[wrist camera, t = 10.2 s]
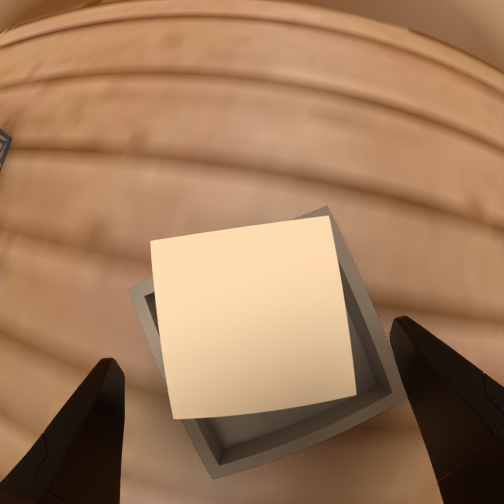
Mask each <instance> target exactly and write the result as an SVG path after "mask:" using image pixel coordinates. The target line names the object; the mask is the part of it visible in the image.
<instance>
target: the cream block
mask: <svg viewBox="0 0 504 504" xmlns="http://www.w3.org/2000/svg"><path fill="white" fill-rule="evenodd" d="M150 242H151V256H152V269H153V280H154V291H155V300H156V310H157V318H158V326H159V334H160V342H161V349H162V356H163V362H164V369H165V375H166V381H167V387H168V393H169V398H170V404H171V409H172V415H173V419H192V418H208V417H221V416H232V415H242V414H251V413H259V412H267V411H274V410H281V409H287V408H293V407H299V406H305V405H311V404H316V403H321V402H326V401H331V400H336V399H340V398H345V397H349V396H353V395H356V385H355V375H354V367H353V358H352V350H351V342H350V335H349V328H348V321H347V314H346V307H345V301H344V295H343V288H342V282H341V277H340V271H339V265H338V260H337V254H336V249H335V244H334V238H333V233H332V228H331V223H330V219H329V216H321V217H313V218H305V219H298V220H290V221H283V222H276V223H268V224H261V225H254V226H247V227H240V228H233V229H226V230H219V231H212V232H206V233H199V234H192V235H186V236H179V237H173V238H167V239H160V240H154V241H150Z"/></svg>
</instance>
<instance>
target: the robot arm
mask: <svg viewBox="0 0 504 504" xmlns="http://www.w3.org/2000/svg"><path fill="white" fill-rule="evenodd" d="M390 343H391V346H392V350H393V353H394V356H395V360H396V363H397V367H398V371H399V374H400V378H401V381H402V384H403V386H404V389H405V391H406V394H407V397H408V399H409V402H410V404H411V407H412V410H413V412H414V415H415V418H416V420H417V423H418V426H419V429H420V431H421V434H422V437H423V440H424V443H425V446H426V449H427V451H428V454H429V457H430V460H431V463H432V467H433V470H434V473H435V476H436V479H437V481H438V482H437V483H438V486H439V489H440V493H441V496H442V500H443V503H444V504H504V387H503V386H502V385H500V384H499V383H498V382H496V381H495V380H493V379H492V378H491V377H489V376H488V375H487V374H485V373H484V374H483V371H481V370H480V369H479V368H477V367H476V366H475V365H473V364H472V363H471V362H469V361H468V360H467V359H465V358H464V357H463V356H461V355H460V354H459V353H457V352H456V351H455V350H453V349H452V348H451V347H449V346H448V345H447V344H445V343H444V342H443V341H441V340H440V339H438V338H437V337H436V336H434V335H433V334H432V333H430V332H429V331H427V330H426V329H425V328H423V327H422V326H420V325H419V324H418V323H416V322H415V321H414V320H412V319H411V318H409V317H408V316H400V317H396V318H395V319H394V320H393V324H392V328H391V331H390ZM124 421H125V377H124V373H123V371H122V370H121V368H120V367H119V365H118V364H117V362H116V360H115V359H114V358H102V359H101V360H100V361H99V362H98V363H97V364H96V366H95V367H94V368H93V369H92V371H91V372H90V373H89V374H88V376H87V377H86V378H85V379H84V381H83V382H82V383H81V384H80V386H79V387H78V388H77V389H76V391H75V392H74V393H73V394H72V396H71V397H70V398H69V400H68V401H67V402H66V403H65V405H64V406H63V407H62V408H61V410H60V411H59V412H58V414H57V415H56V416H55V418H54V419H53V420H52V421H51V423H50V424H49V425H48V427H47V428H46V429H45V431H44V433H42V435H41V436H40V437H39V439H38V440H37V441H36V442H35V444H34V445H33V446H32V448H31V449H30V450H29V451H28V452H27V454H26V455H25V456H24V457H23V458H22V459H21V460H20V462H19V463H18V464H17V465H16V466H15V467H14V468H13V469H12V470H11V472H10V473H9V474H8V475H7V476H6V477H5V478H4V479H3V480H2V481H1V482H0V504H120V479H121V460H122V445H123V433H124Z"/></svg>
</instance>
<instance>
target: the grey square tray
mask: <svg viewBox="0 0 504 504" xmlns="http://www.w3.org/2000/svg"><path fill="white" fill-rule="evenodd" d="M321 216H329V219H330V223H331V228H332V233H333V238H334V244H335V249H336V254H337V260H338V265H339V271H340V277H341V282H342V288H343V295H344V301H345V307H346V314H347V321H348V328H349V335H350V342H351V350H352V358H353V367H354V375H355V385H356V395H353V396H349V397H345V398H340V399H336V400H331V401H326V402H321V403H316V404H311V405H305V406H299V407H293V408H287V409H281V410H274V411H267V412H259V413H251V414H242V415H232V416H221V417H208V418H192V419H181V421H182V423H183V425H184V427H185V429H186V431H187V433H188V435H189V437H190V439H191V441H192V443H193V445H194V447H195V449H196V450H197V452H198V454H199V456H200V458H201V460H202V462H203V464H204V465H205V467H206V469H207V471H208V473H209V474H210V476H211V478H212V479H216V478H219V477H223V476H227V475H230V474H234V473H237V472H240V471H244V470H247V469H250V468H253V467H256V466H259V465H262V464H265V463H268V462H271V461H274V460H277V459H279V458H282V457H285V456H287V455H290V454H293V453H295V452H298V451H300V450H303V449H305V448H308V447H310V446H312V445H315V444H317V443H320V442H322V441H324V440H326V439H329V438H331V437H333V436H335V435H337V434H340V433H342V432H344V431H346V430H348V429H350V428H352V427H354V426H356V425H358V424H360V423H362V422H364V421H366V420H368V419H370V418H372V417H374V416H375V415H377V414H379V413H381V412H383V411H385V410H386V409H388V408H390V407H392V406H394V405H395V404H397V403H399V402H400V401H402V400H404V399H406V398H407V394H406V391H405V389H404V386H403V384H402V381H401V378H400V374H399V371H398V368H397V366H396V363H395V360H394V358H393V355H392V352H391V350H390V347H389V344H388V342H387V339H386V337H385V334H384V331H383V329H382V326H381V324H380V321H379V319H378V316H377V314H376V312H375V309H374V307H373V304H372V302H371V300H370V297H369V295H368V292H367V290H366V288H365V286H364V283H363V281H362V279H361V276H360V274H359V272H358V270H357V267H356V265H355V263H354V261H353V258H352V256H351V254H350V252H349V250H348V248H347V245H346V243H345V241H344V239H343V237H342V235H341V233H340V231H339V229H338V226H337V224H336V222H335V220H334V218H333V216H332V214H331V212H330V210H329V208H328V206H325V207H322V208H320V209H317V210H315V211H312V212H310V213H307V214H305V215H302V216H300V217H297V218H295V219H292V220H298V219H305V218H313V217H321ZM128 289H129V292H130V295H131V298H132V301H133V304H134V307H135V310H136V312H137V315H138V318H139V321H140V323H141V326H142V329H143V332H144V334H145V337H146V339H147V342H148V345H149V347H150V350H151V352H152V355H153V357H154V360H155V362H156V365H157V367H158V369H159V372H160V374H161V376H162V379H163V381H164V383H165V386H166V388H167V390H168V387H167V381H166V375H165V369H164V362H163V356H162V349H161V342H160V334H159V326H158V318H157V310H156V300H155V291H154V280H153V278H151V279H148V280H146V281H144V282H141V283H139V284H136V285H134V286H132V287H129V288H128Z"/></svg>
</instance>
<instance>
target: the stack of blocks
mask: <svg viewBox="0 0 504 504" xmlns="http://www.w3.org/2000/svg"><path fill="white" fill-rule="evenodd" d="M10 141H11V137H10V136H8V135H7V134H6V133H5V132H4V131H2V130H1V129H0V168H1V165H2V163H3V160H4V157H5V155H6V152H7V149H8V146H9V144H10Z"/></svg>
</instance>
